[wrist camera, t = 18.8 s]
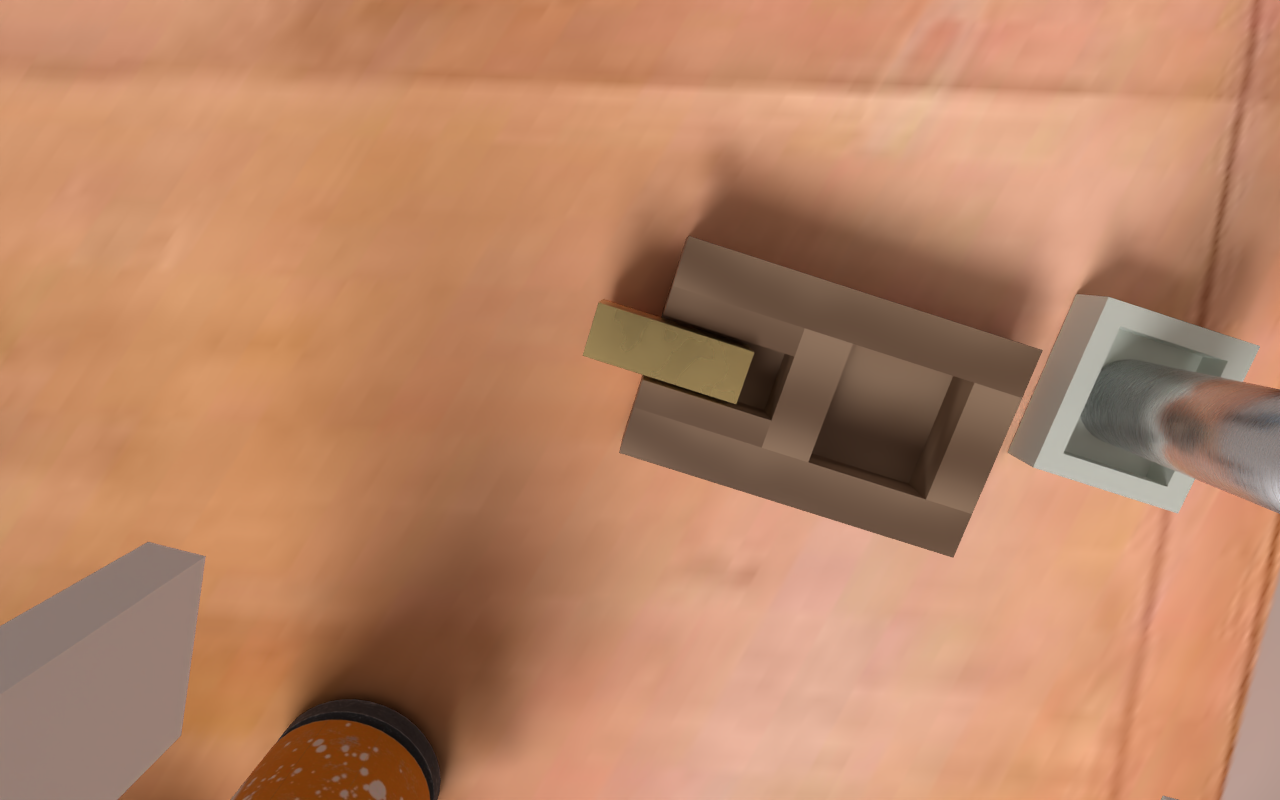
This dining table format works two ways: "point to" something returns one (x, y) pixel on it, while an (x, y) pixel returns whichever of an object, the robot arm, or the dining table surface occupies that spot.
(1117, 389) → the metal round-nosed cylinder
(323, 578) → the dining table surface
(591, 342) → the bar
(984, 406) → the socket block
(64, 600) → the robot arm
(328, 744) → the canister
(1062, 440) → the pale grey square tray
